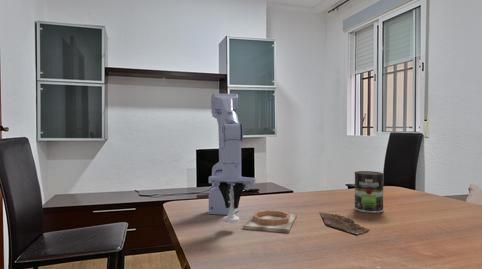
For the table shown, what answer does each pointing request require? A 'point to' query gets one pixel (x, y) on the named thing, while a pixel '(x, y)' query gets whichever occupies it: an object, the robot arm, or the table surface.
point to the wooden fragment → (343, 223)
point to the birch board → (276, 228)
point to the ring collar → (271, 221)
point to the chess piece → (231, 210)
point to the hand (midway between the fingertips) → (232, 207)
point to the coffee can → (369, 191)
